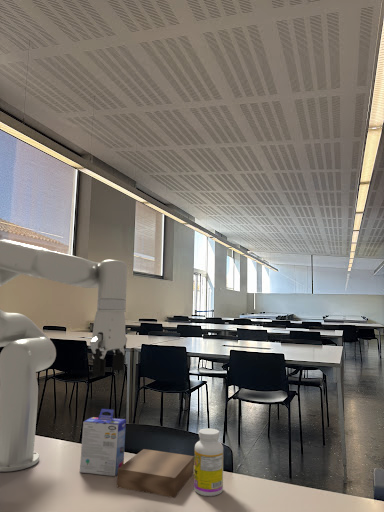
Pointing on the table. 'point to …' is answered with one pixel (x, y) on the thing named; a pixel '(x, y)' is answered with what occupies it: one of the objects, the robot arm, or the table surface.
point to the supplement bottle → (208, 463)
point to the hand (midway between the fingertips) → (108, 372)
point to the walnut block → (156, 472)
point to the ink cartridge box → (103, 444)
